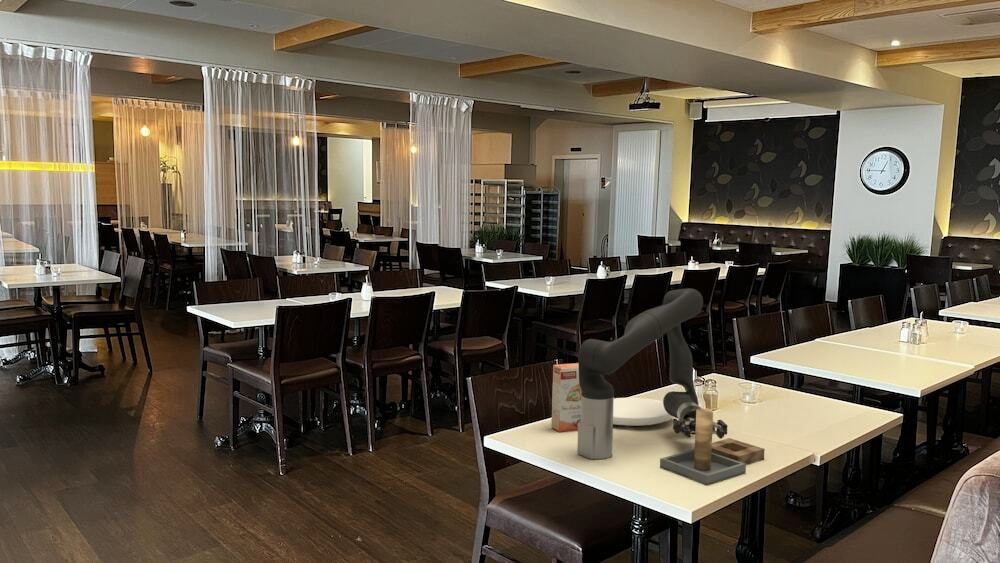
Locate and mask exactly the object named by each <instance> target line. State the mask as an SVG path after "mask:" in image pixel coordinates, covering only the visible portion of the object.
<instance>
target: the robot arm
mask: <svg viewBox="0 0 1000 563" xmlns="http://www.w3.org/2000/svg"><path fill="white" fill-rule="evenodd" d="M703 306H704V299H703V296H702V294H701V292H700V291H699V290H697V289H695V288H690V287H689V288H681V289H673V290H669V291H667V292H666V294H665V295H664V298H663V304H662V305H659V306H656V307H653V308H650V309H646V310H645V311H643V312H641V313H639V314H638V315H636V316H634V317H633V318H631V319H630V320H629V321H628V322H627V324H626V326H625V328H624V333H623V335H622V336H620V337H619V338H617V339H615V340H613V341H606V340H600V339H596V338H594V339H593V338H589V339H586V340H584V341H583V342H582V343H581V346H580V348H579V351H578V358H577V359H578V360H577V361H578V362H577V363H578V365H579V385H580V388H581V421H580V422H578V430H577V454H578V455H580V456H581V457H584V458H588V459H590V460H603V459H608V458H610V457H612V456H613V439H614V438H613V437H614V436H613V434H614V424H613V404H614V398H615V395H614V394H615V392H614V391H615V389H614V387H613V385H612V384H611V383H610V382H608V380H606V379H605V378H604V375H610V374H613V373H615V372H616V371H617V370H618V369H620V368H621V367H622V366H623V365H625V363H627V362H628V361H629V360H630V359H631V358H633V357H634V355H636V354H638V353H639V352H640V351H641V350H643V349H644V348H646V347H647V346H649V345H651V344H653V343H654V342H655V341H657V340H659V339H660V338H661V337H662V336H664V335H665V334H666V336H667V340H668V347H669V381H670V382H671V383H672V384H675V385H678V386H679V385H680V386H682V387H683V389H684V390H685V391H676V390H675V391H668V392H666V394H665V395H664V396H663V400H662V401H663V405H664V408H665V410H666V412H667V413H668V414H669V415H671V416H673V417H672V418H673V419H672V429H673V432H674V434H680V433H681V434H682V435H683V436H685V437H686V438H687V439H690V438H691V435H694V436H695V430H696V410H697V409H702V407H701V406H700V405H699V400H698V396H697V393H696V390H695V385H694V384H695V383H694V376H693V354H692V352H691V350H690V348H689V345H688V343H687V341H686V340H685V337H684V335H683V331H682V328H681V327H682V326H681V325H682V324H681V323H683V322H686V321H688V320H690V319H693V318H694V317H696V316H697V315H698V314H700V312H702V308H703ZM712 435H716V436H717V437H718V438H719V439H720V440H723V438H725V435H728V424H726V422H724V421H723V420H722V419H717V421H716V422H715V421H713V428H712Z"/></svg>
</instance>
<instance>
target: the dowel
mask: <svg viewBox="0 0 1000 563" xmlns="http://www.w3.org/2000/svg"><path fill="white" fill-rule="evenodd" d="M713 422H714V411H713V410H712V409H708V408H701V409H697V410H696V430H695V435H694V449H695V454H694V468H695V469H696V470H699V471H709V470H711V450H712V443H713V434H712V428H713Z"/></svg>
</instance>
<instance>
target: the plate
mask: <svg viewBox="0 0 1000 563" xmlns="http://www.w3.org/2000/svg"><path fill="white" fill-rule="evenodd" d="M672 418H674V417H673V416H671V415H669V414H668V413H667V412H666V410H665V408H664V405H663V400H658V399H652V398H643V397H642V398H641V397H616V398H615V397H614V404H613V425H616V426H617V425H618V426H631V427H634V426H652V425H658V424H662V423H665V422H668V421H670V420H672Z"/></svg>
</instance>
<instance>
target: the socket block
mask: <svg viewBox="0 0 1000 563" xmlns="http://www.w3.org/2000/svg"><path fill="white" fill-rule="evenodd" d="M711 452H712V453H715V454H718V455H721V456H724V457H727V458H730V459H733V460H736V461H739V462H742V463H745V464H746V466H747V465H749V464H752V463H755V462H760V461H763V460H765V448H763V447H760V446H757V445H754V444H750V443H747V442H743V441H739V440H737V439H733V438H730V437H728V438H725V439H720V440H718V441H714V442H713V441H712V450H711ZM762 459H763V460H762Z"/></svg>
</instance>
